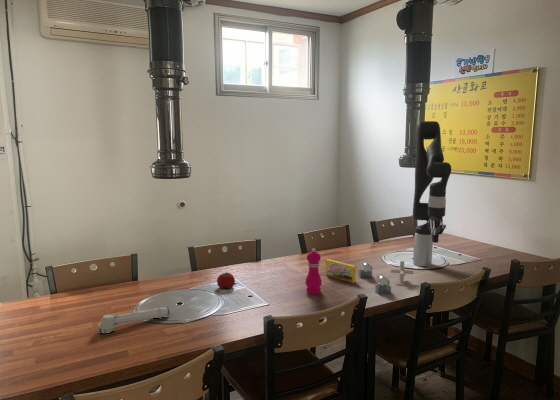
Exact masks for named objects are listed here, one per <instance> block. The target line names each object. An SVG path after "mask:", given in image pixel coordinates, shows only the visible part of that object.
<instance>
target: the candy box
mask: <svg viewBox="0 0 560 400" xmlns="http://www.w3.org/2000/svg"><path fill="white" fill-rule="evenodd" d="M325 275H326V276H328V277H332V278H335V279H339V280H342V281H345V282H346V281H347V282H349V283H353V284H354V283H355V282H356V265H354V264H350V263H345V262H342V261H337V260H334V259H330V258H327V259H325Z"/></svg>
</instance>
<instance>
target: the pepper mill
mask: <svg viewBox="0 0 560 400" xmlns="http://www.w3.org/2000/svg"><path fill="white" fill-rule="evenodd" d="M316 250H317V249H316V248H312V249H311V251H309V252H308V253H307V254H306V260H307V261H308V262H307V267H308V273H307V276H306V278H305V282H304V284H305V285H306V293H307V294H309V295H319V294H321V286H322V283H323V282H322V277H321V275H320V273H319V266H320V261H321V254H320V253H319V252H317V251H316Z"/></svg>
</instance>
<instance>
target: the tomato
mask: <svg viewBox="0 0 560 400" xmlns="http://www.w3.org/2000/svg"><path fill="white" fill-rule="evenodd" d="M216 283H217V287H219V289H225V288H229V289H231V288H234V285H235V283H236V280H235V276H234V275H233V274H232V273H230V272H227V271H226V272H223V273H221V274H219V275H218V277H217V279H216Z"/></svg>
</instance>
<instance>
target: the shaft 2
mask: <svg viewBox="0 0 560 400" xmlns="http://www.w3.org/2000/svg"><path fill="white" fill-rule="evenodd" d="M374 279H375V281H376V282H377V283H378V284H375V286H374V287H375V289H374V290H375V293H376V294H378V295H383V294H384V295H385V294H391V293H392V286H391V285H390V279H388V278H387V277H386V276H384V275H383V274H382V273H379V274H377V275H376V276H375V278H374Z"/></svg>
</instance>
